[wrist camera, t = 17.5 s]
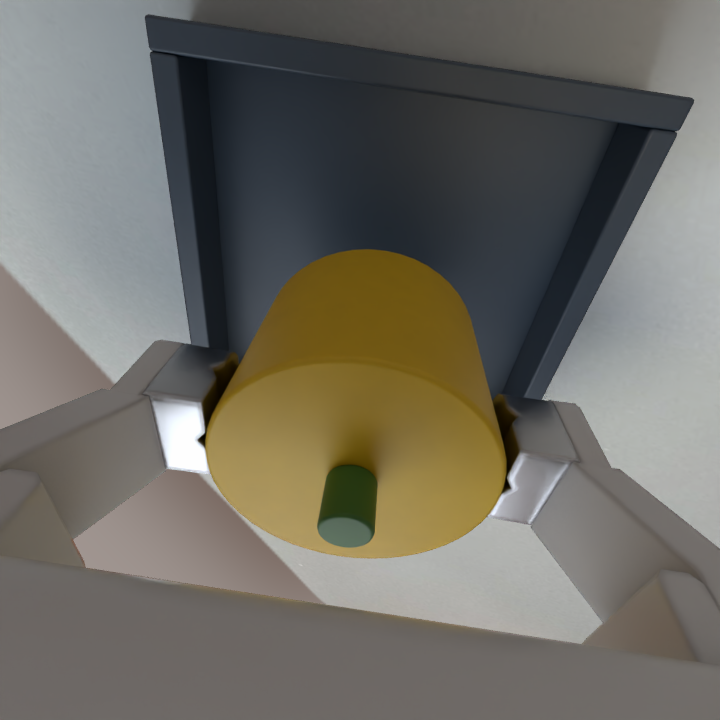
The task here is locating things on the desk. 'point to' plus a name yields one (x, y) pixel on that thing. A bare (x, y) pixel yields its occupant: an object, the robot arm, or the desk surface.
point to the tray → (399, 181)
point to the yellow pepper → (361, 413)
